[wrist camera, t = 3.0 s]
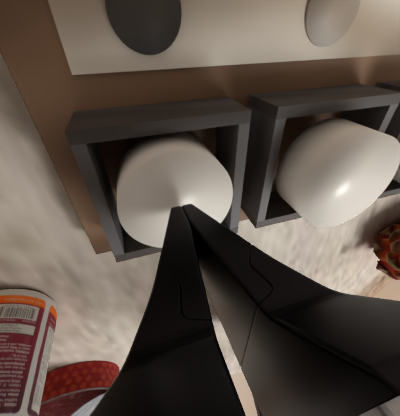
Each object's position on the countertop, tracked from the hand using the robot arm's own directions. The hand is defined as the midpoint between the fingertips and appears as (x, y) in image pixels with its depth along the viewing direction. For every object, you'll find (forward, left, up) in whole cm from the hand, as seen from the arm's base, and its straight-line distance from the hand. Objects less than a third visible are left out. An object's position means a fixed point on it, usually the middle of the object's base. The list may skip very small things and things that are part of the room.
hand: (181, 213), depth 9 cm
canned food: (-28, +14, -6) cm, 32 cm away
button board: (+2, -8, -6) cm, 10 cm away
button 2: (0, 0, -3) cm, 3 cm away
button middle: (0, -8, -2) cm, 8 cm away
